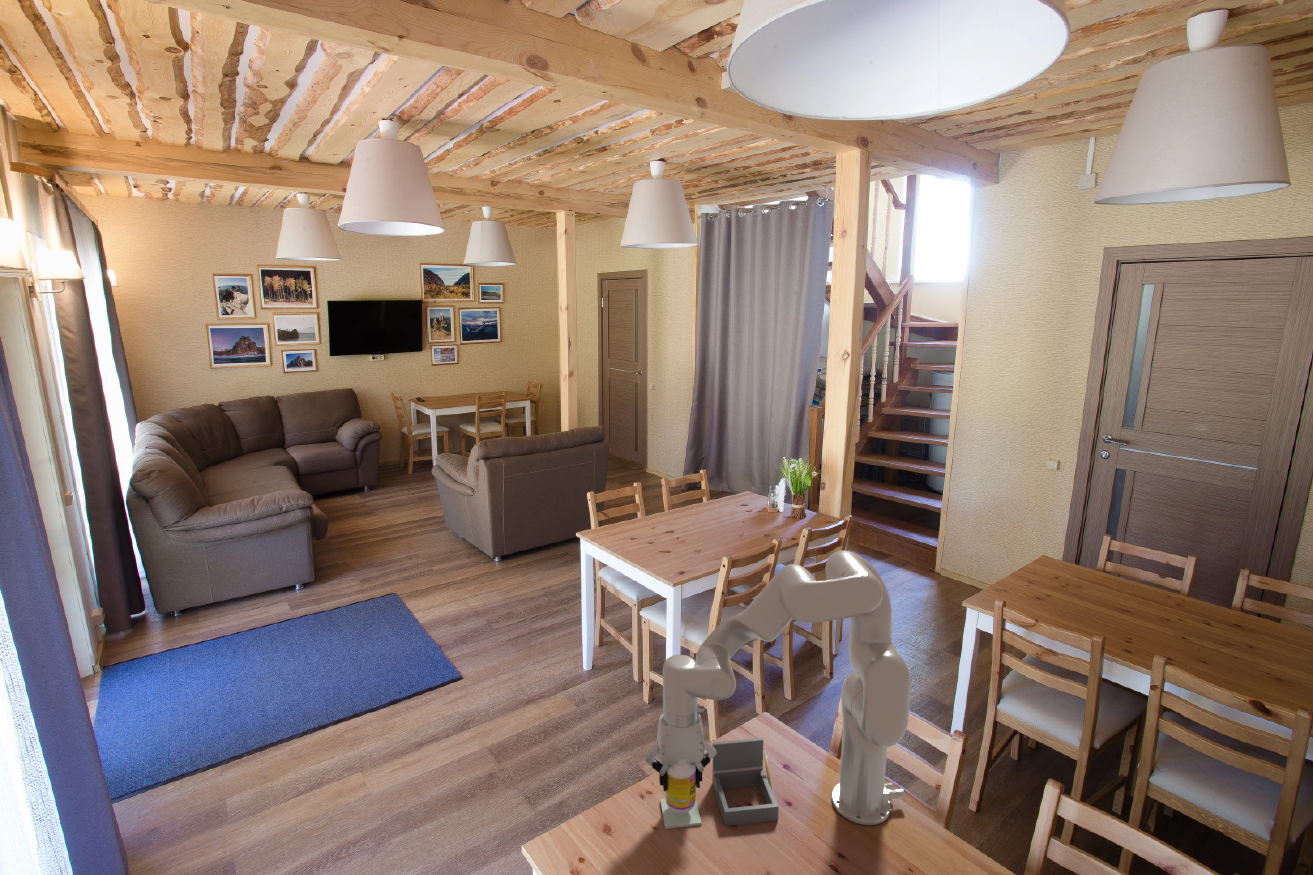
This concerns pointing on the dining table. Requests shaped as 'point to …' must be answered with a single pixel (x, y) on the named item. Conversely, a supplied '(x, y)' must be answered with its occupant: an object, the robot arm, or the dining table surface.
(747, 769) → the case
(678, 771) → the supplement bottle
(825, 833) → the dining table surface
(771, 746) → the dining table surface
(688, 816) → the rest pad
